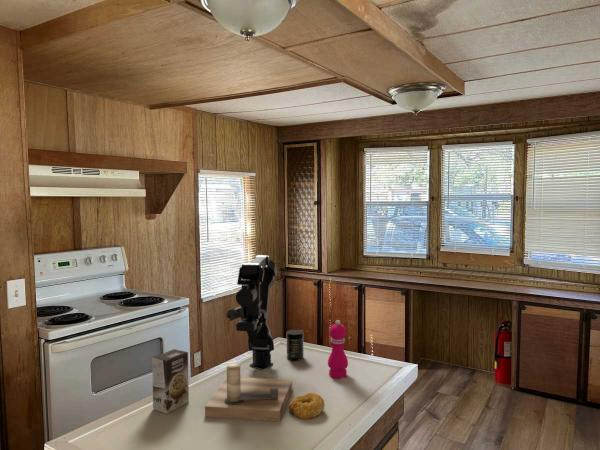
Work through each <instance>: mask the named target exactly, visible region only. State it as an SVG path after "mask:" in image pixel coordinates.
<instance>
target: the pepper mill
mask: <svg viewBox="0 0 600 450" xmlns="http://www.w3.org/2000/svg"><path fill="white" fill-rule="evenodd" d="M334 322H335V323H334V324H332V325H331V326H330V328H329V330H328V331H329V335H330V343H331V345H332V347H331V352H330V354H329V356H328V359H327V366H328V368H329V370H328V375H329V377H330V378H333V379H343V378H346V377H347V376H348V375H347V373H348V372H347V368H348V366H349V360H348V357H347V355H346V353H345V349H344V344H345V342H346V338H345V336H346V335H347V328H346V327H345V326H344V324H341V321H340V319H337V320H335V321H334Z"/></svg>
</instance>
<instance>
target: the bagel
mask: <svg viewBox="0 0 600 450" xmlns="http://www.w3.org/2000/svg"><path fill="white" fill-rule="evenodd" d="M287 407H288V410H289V412H291V413H293V414H294V415H295V417H297V418H300V419H303V420H305V419H313V418H315V417H317V416H319V415H320V414H322V413H323V411H324V410H325V407H326V405H325V400H324V398H323V397H322V395H320V394H318V393H315V392H307V393H306V394H304V395H299V396H296V397H295V398H293V399H292V400H291V401H290V403H289V404H288V406H287Z"/></svg>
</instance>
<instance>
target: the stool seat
mask: <svg viewBox="0 0 600 450" xmlns="http://www.w3.org/2000/svg"><path fill="white" fill-rule="evenodd" d="M240 382H241V393H246V392H262V391H270V388H273V387H276V388H278V399H271V398H264V399H248V400H239V401H236V402H230V401H228V400H227V378H225V380H224V381H223V382H222V384H221V385H220V386H219V387H218V389H217V390H216V391H215V393H214V394H213V396H212V397H210V398H209V400H208V402H207V403H206V404H205V405H204V417H211V418H225V419H226V418H227V419H241V420H253V421H267V422H268V421H269V422H280V420H281V418H282V416H283V413H284V410H285V408H286V405H287V403H288V400H289V398H290V395H291V393H292V390H293V380H292V379H281V378H280V379H279V378H278V379H277V378H261V377H244V376H243V377H242V376H240Z"/></svg>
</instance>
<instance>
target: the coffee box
mask: <svg viewBox="0 0 600 450" xmlns="http://www.w3.org/2000/svg"><path fill="white" fill-rule="evenodd" d="M151 359H152V363H151V364H152V369H151V370H152V409H153V410H155V411H158V412H161V413H162V414H169V413H171V412H173V411H175V410H177V409H179V408H181V407H183V406H184V405H187V404H188V403H189V402H190V399H189V398H190V396H189V395H190V394H189V393H190V392H189V352H188V351H184V350H180V349H179V350H178V349H176V348H175V349H171V350H169V351H166V352H162V353H160V354H157V355H155V356H152V357H151Z"/></svg>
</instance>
